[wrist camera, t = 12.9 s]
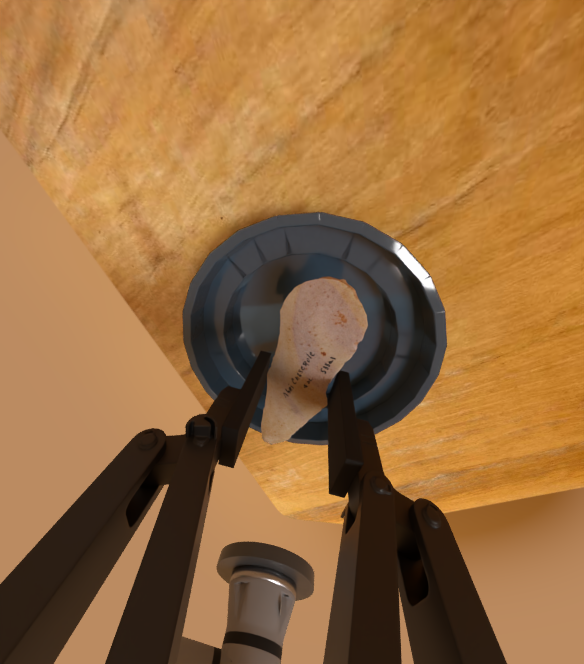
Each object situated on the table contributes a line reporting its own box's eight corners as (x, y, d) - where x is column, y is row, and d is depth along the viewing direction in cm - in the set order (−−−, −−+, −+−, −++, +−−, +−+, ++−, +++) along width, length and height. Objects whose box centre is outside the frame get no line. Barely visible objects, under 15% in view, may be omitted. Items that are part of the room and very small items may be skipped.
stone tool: (302, 447, 19) (388, 293, 12) (295, 463, 18) (387, 301, 10) (253, 417, 20) (303, 258, 13) (243, 429, 19) (292, 261, 12)
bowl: (371, 425, 26) (380, 466, 22) (208, 383, 27) (185, 414, 23) (466, 248, 17) (515, 256, 13) (215, 190, 18) (178, 179, 13)
